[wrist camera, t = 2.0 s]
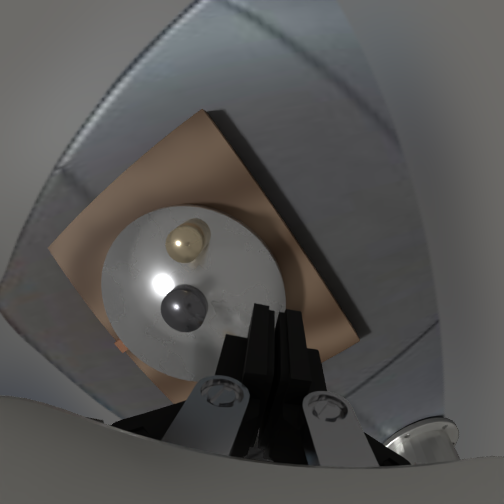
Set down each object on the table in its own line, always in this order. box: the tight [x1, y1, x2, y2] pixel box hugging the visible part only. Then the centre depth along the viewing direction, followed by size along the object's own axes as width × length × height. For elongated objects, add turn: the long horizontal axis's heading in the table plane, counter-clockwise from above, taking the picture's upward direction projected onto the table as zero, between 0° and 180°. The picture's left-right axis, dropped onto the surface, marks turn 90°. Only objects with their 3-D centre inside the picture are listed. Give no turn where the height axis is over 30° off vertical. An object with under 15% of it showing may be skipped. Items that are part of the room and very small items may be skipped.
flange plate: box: [101, 204, 286, 382], centre depth 25 cm, size 16×17×5 cm
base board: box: [48, 109, 360, 404], centre depth 27 cm, size 24×20×5 cm
